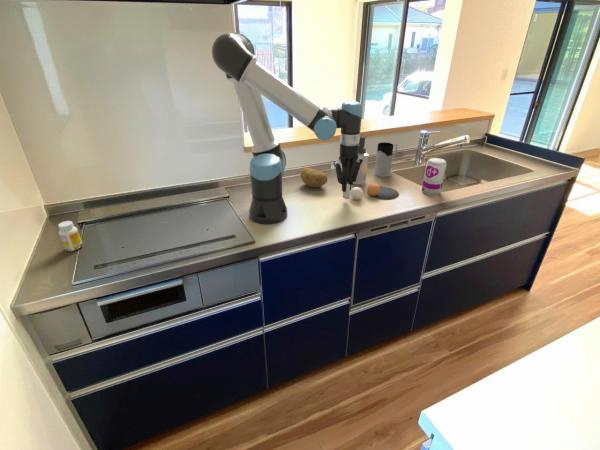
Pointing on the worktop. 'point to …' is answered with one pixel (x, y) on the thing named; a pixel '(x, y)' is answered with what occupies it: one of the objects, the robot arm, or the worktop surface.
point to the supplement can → (434, 176)
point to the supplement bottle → (69, 235)
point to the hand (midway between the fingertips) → (345, 197)
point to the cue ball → (356, 193)
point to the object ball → (373, 189)
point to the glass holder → (384, 159)
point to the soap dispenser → (363, 167)
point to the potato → (313, 177)
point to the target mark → (386, 193)
